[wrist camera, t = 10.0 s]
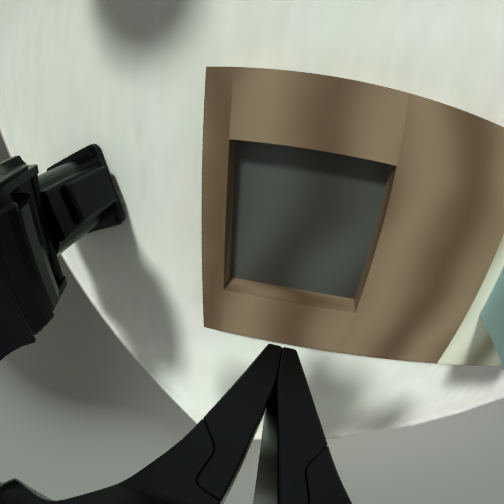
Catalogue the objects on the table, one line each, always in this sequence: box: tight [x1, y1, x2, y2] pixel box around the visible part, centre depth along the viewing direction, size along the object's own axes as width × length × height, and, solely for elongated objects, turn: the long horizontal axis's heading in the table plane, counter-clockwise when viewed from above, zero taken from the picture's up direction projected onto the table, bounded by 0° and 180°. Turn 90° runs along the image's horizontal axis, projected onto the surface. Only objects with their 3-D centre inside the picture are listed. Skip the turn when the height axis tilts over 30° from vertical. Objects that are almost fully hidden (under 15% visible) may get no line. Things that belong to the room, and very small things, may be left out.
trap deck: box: [202, 67, 504, 366], centre depth 17 cm, size 38×18×2 cm, turn 86°
